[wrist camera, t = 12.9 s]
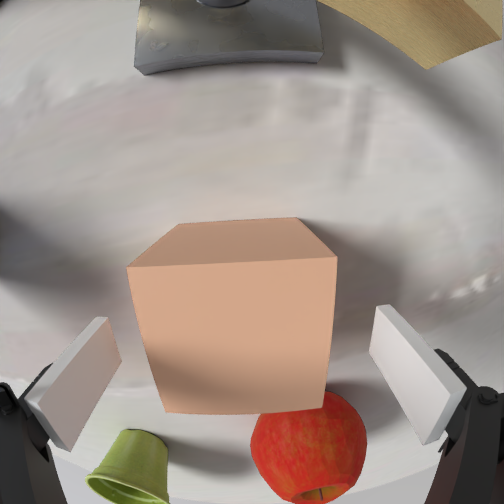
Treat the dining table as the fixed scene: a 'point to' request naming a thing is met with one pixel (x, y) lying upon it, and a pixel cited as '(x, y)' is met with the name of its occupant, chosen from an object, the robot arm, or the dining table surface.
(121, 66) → the dining table surface
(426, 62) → the yellow t-shaped bar
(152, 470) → the plant pot
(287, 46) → the grey square base plate
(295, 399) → the peach tan cube
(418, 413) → the robot arm
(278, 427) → the apple
